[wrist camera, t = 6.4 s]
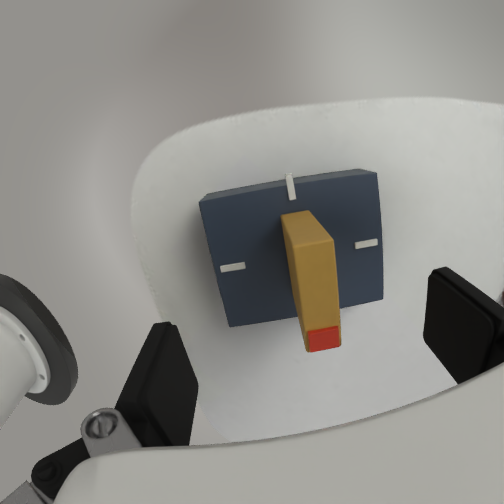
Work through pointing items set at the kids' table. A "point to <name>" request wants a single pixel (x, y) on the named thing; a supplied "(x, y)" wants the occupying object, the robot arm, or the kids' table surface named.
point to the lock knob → (313, 280)
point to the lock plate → (273, 245)
